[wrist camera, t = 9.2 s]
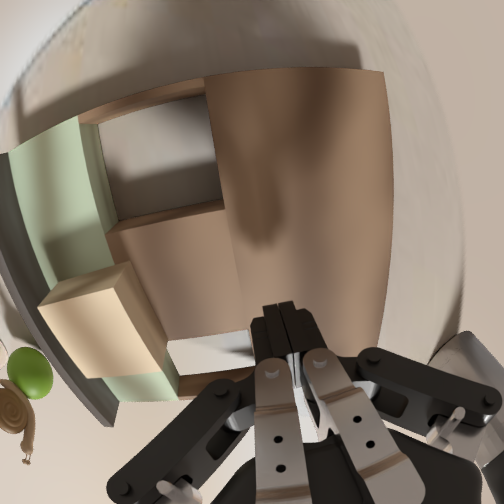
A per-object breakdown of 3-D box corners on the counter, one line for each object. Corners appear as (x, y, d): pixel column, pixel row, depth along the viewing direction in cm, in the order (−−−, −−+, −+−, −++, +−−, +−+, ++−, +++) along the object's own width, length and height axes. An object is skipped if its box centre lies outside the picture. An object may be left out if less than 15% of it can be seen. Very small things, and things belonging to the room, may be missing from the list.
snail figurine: (46, 380, 22) (15, 460, 11) (13, 339, 19) (-33, 419, 8) (74, 378, 21) (42, 471, 10) (37, 332, 19) (-15, 426, 8)
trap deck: (363, 78, 14) (414, 63, 9) (362, 343, 23) (387, 385, 18) (20, 153, 13) (-30, 166, 8) (116, 382, 22) (104, 426, 17)
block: (130, 260, 14) (113, 287, 12) (168, 338, 17) (162, 371, 14) (58, 282, 14) (37, 307, 12) (98, 349, 17) (87, 378, 14)
